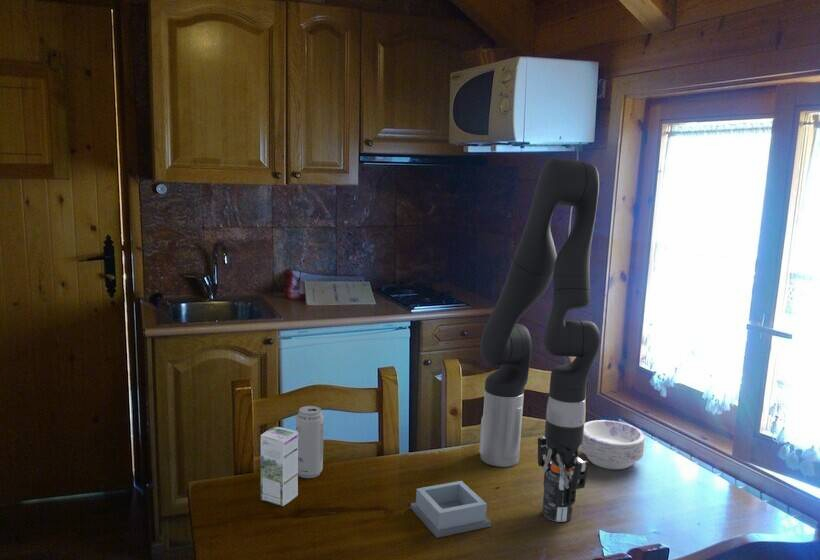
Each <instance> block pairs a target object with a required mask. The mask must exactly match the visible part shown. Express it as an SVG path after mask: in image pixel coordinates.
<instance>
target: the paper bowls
mask: <svg viewBox="0 0 820 560" xmlns="http://www.w3.org/2000/svg"><path fill="white" fill-rule="evenodd" d="M645 439H646V437H645V434H644V432H643V431H642V430H641V429H639V428H637V427H635V426H634V425H632V424H631V425H630V424H628V423H625V422H621V421H617V420H609V419H608V420H606V419H599V420H598V419H595V420H590V421H586V422H584V433H583V442H582V444H581V445H580V446H579V448H578V450H580V451H581V452H582V453H583V454H584V455H586V457H587V460H589V462H591V463H592V464H594V465H595V466H597V467H600V468H603V469H607V470H624V469H627V468H629V467H631V466H632V465H633V463H636V462H637V461H640V460H641V459H643V456H644V453H645V450H644V449H645Z"/></svg>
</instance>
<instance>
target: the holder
mask: <svg viewBox="0 0 820 560" xmlns="http://www.w3.org/2000/svg"><path fill="white" fill-rule="evenodd" d="M487 507H488V504H487V503H486V501H484V499H482V498H481V496H479V495H478V494H477V493H475V491H474V490H472V489H471V488H470V487H469V486H468V484H465V482H464V481H462V480H457V481H454V482H447V483H442V484H441V483H440V484H435V485H431V486H429V485H428V486H424V487H419V488H416V492H415V502H411V503H410V509H411V511H412V512H413V513H414V514H415V515H416V516H417V518H419V520H420V521H421V522H422V523H423V525H425V526H426V528H428V530H429V531H430V532H431V534H432V535H434V537H435V538H442V537H446V536H452V535H455V534H461V533H462V534H463V533H466V532H470V531H475V530H482V529H485V528H489V527H492V521H491V520H490V519H489V518H488V517H487V510H488V508H487Z"/></svg>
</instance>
